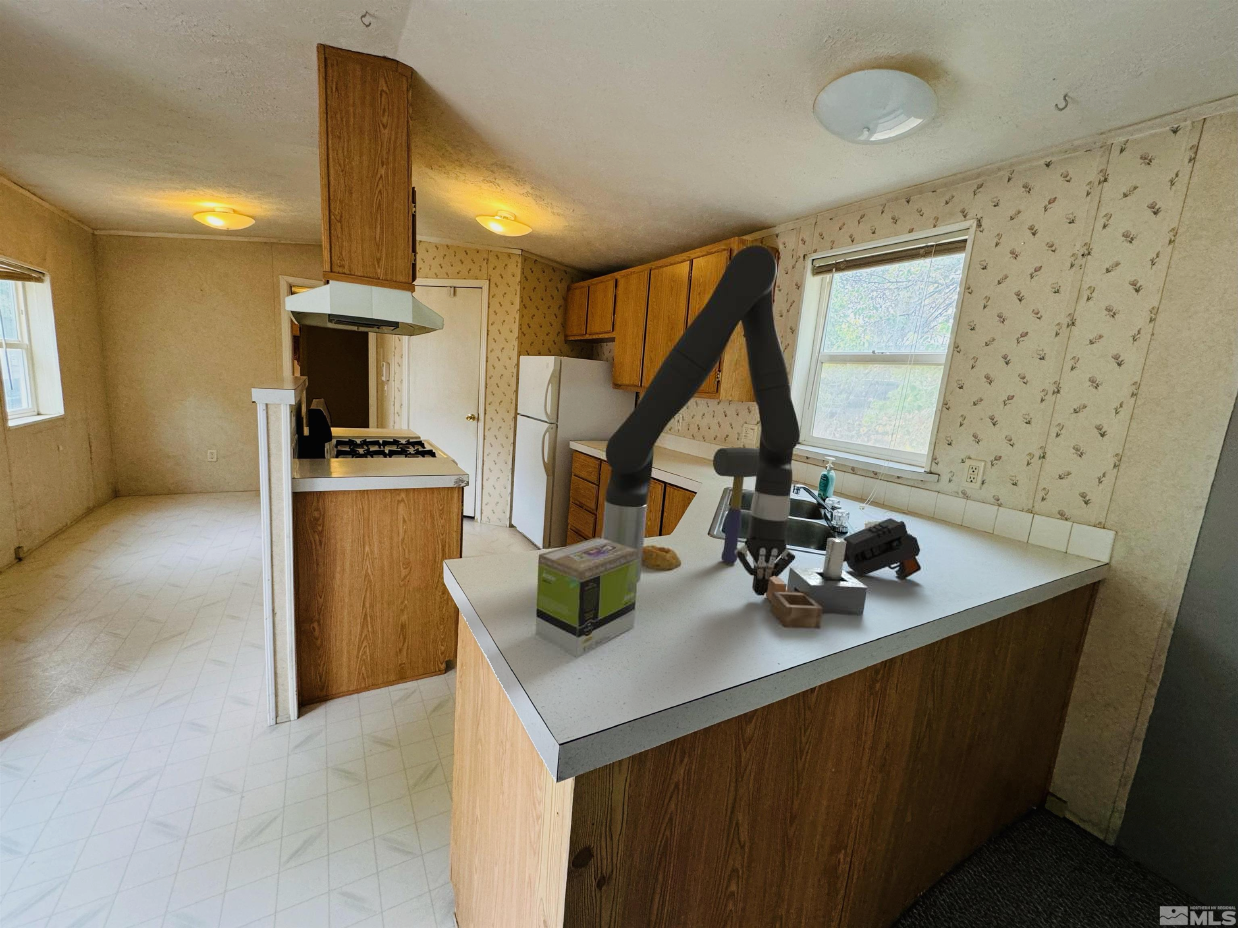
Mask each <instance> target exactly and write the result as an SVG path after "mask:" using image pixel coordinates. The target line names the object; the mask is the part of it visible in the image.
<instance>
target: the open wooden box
mask: <svg viewBox="0 0 1238 928" xmlns="http://www.w3.org/2000/svg"><path fill="white" fill-rule="evenodd" d="M769 609H770V612H771V613H772V614H773V616H774V617H775V618H776V619H777V620H778V621H779V623H780V624H781V625H782V626H783V627H784V628H798V629H799V628H800V629H801V628H803V629H820V628H821V623H822V618H823V614H822V611H823V608H822V607H821V606H820V605H818V604H817V603H816V602H815V601H814V600H813V599H812V598H811V597H810V596H809V595H808V594H806V593H792V592H773V593H772V600H771V601H770V608H769Z"/></svg>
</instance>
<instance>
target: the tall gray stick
mask: <svg viewBox="0 0 1238 928" xmlns="http://www.w3.org/2000/svg"><path fill="white" fill-rule="evenodd" d="M845 548H846V541H844V539H840V538H836V537H835V538H834V537H829V538H827V541H826V549H825V553H824V554H825V555H824V561H823V575H822V578H823V579H824V580H826V581H839V582H840V580H841V574H842V570H843V566H844V562H843V561H844V554H845Z"/></svg>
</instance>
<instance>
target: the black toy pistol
mask: <svg viewBox="0 0 1238 928" xmlns="http://www.w3.org/2000/svg"><path fill="white" fill-rule="evenodd" d="M843 540H844V541H846V548H845V554H844V561H843V563H846V564H847V567H848V568H849V569H850V570H851V571H853V572H854V573H855V574H857V575H858V576H861V577H863V576H867V575H869V574H871V573H874V572H877V571H880V570H883V569H885V568H888V569H890V570H895V571H894V572H895V575H896V576H897V577H899V578H900V579H901V580H905V579H907V578H908V577H911V576H912V575H913V574H915V573H917V572H919V571H921V568H922V567H921V565H920V563H919V561H918V559H917V557H919V555H920V553H921V547H920V545H919V542H918V538H917V537H915V536H913V535H912V534H911V533H908V530H907V526H906V523H905V522H904V521H903V520H900V521H898V520H896V519H893V518H890V517H889V518H888V519H887V518H886V519H884V520H882V522H879V523H878V524H874V525H873V527H872V526H870V527H868V529H867V528H865V527H864V528H863V529H861V530H859V531H856V532H854V533H852V534H849V535H847V536H845V537H844V538H843Z"/></svg>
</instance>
